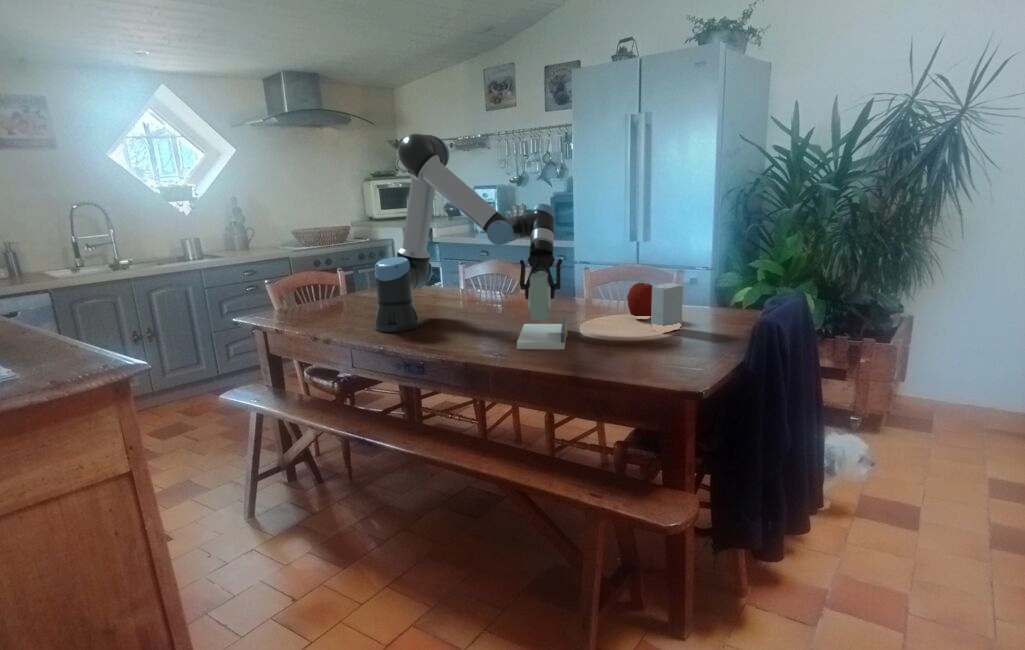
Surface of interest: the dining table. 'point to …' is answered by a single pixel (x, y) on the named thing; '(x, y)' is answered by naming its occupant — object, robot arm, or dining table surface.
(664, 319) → the skincare box
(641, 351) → the dining table surface
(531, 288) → the product carton
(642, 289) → the apple
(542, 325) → the shelf board
